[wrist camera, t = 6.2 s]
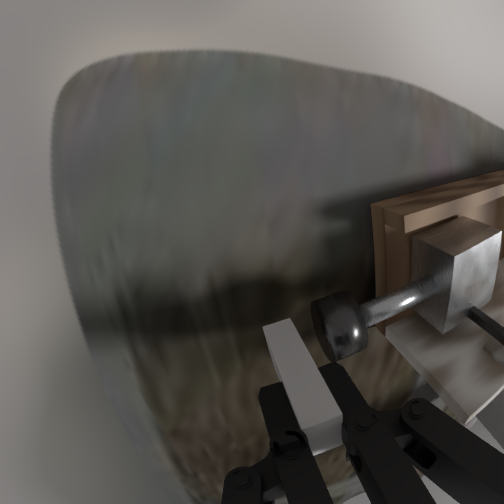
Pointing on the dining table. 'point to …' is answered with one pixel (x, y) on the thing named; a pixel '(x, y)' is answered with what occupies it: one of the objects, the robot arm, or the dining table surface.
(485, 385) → the brown wooden box
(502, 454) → the robot arm
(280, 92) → the dining table surface
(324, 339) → the silver block with knob
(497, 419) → the water bottle
